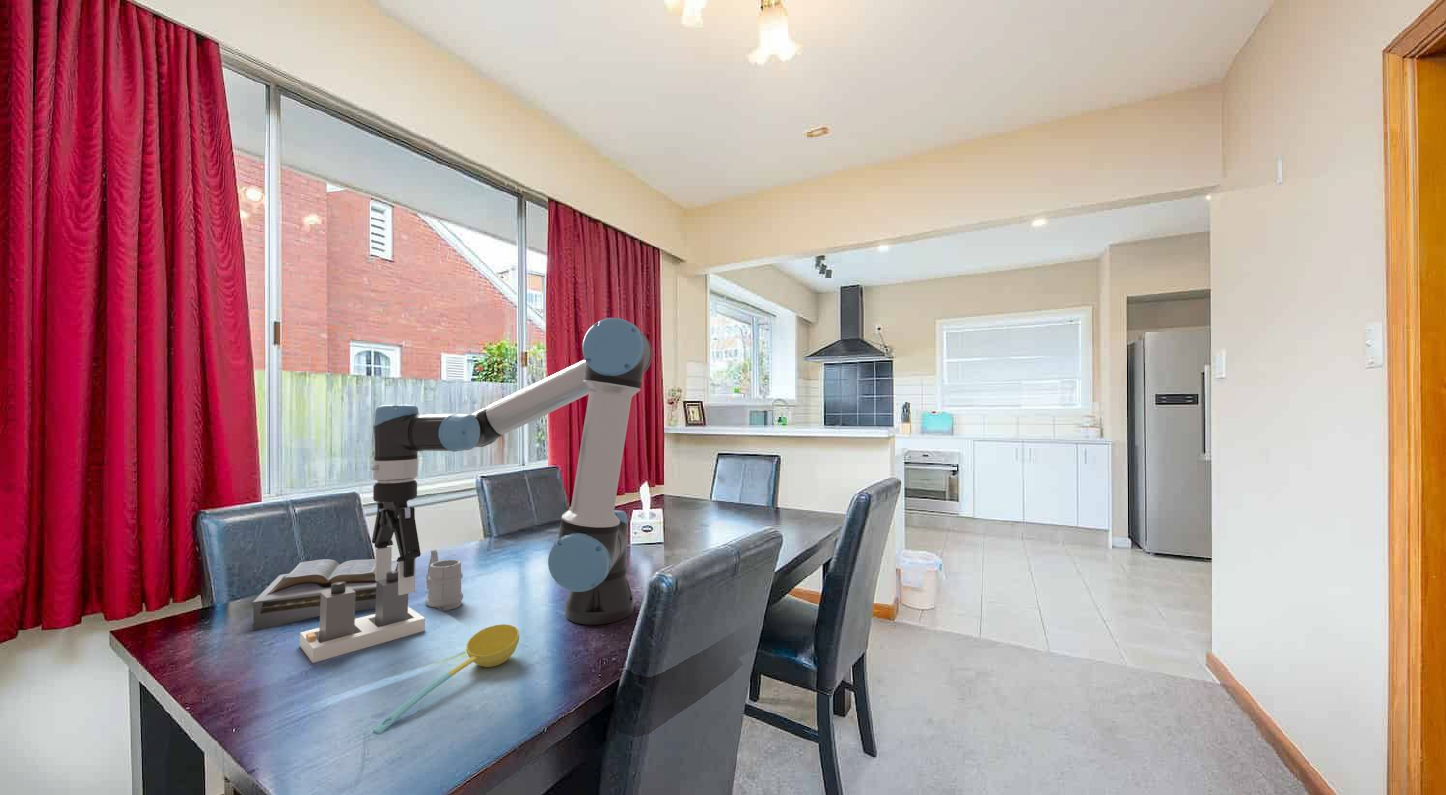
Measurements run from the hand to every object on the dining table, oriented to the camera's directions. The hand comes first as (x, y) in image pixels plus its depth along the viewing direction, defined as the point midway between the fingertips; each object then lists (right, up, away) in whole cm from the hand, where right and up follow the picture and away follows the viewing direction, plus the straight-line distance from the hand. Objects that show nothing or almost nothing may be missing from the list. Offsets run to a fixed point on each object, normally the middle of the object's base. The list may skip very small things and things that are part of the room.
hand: (394, 586), depth 103 cm
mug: (0, -11, +17) cm, 20 cm away
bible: (-24, -11, +16) cm, 31 cm away
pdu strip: (-3, -10, -4) cm, 11 cm away
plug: (-1, -9, 0) cm, 9 cm away
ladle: (+22, -10, -19) cm, 31 cm away
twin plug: (-6, -9, -7) cm, 13 cm away
